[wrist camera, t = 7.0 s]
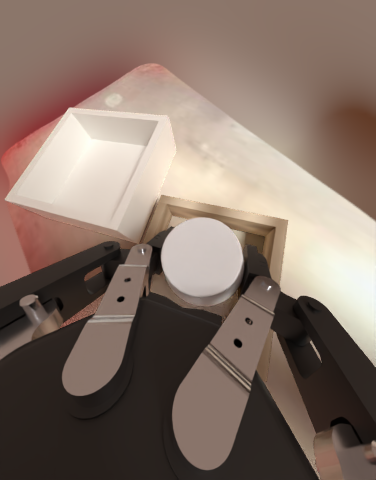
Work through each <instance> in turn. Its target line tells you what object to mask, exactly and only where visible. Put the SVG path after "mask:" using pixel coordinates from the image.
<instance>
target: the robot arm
mask: <svg viewBox="0 0 376 480" xmlns="http://www.w3.org/2000/svg"><path fill="white" fill-rule="evenodd" d="M174 228H175V227H172V226H171V227H170V228H169V229H168V230H167V231H165V230H164V231H161V232H159V233H158V234H157V235H156V236H154V238H152V239H151V240H150V241H149V242H147V243H146V244H137V245H135V246H133V247H132V248H131V249H120V244H119V243H118V242H114V241H109V242H104V243H101V244H99V245H97V246H94V247H92V248H90V249H87V250H85V251H83V252H80V253H78V254H76V255H73V256H71V257H69V258H66V259H64V260H62V261H59V262H57V263H55V264H52V265H50V266H48V267H45V268H43V269H41V270H39V271H36V272H34V273H32V274H29V275H27V276H25V277H22V278H20V279H18V280H15V281H13V282H11V283H8V284H6V285H4V286H1V287H0V480H319V478H318V476H317V474H316V473H315V471H314V469H313V468H312V466H311V464H310V462H309V461H308V459H307V457H306V455H305V454H304V452H303V450H302V448H301V447H300V445H299V443H298V441H297V440H296V438H295V436H294V434H293V433H292V431H291V429H290V427H289V426H288V424H287V422H286V420H285V419H284V417H283V415H282V414H281V412H280V410H279V408H278V407H277V405H276V403H275V401H274V400H273V398H272V396H271V394H270V393H269V391H268V389H267V387H266V386H265V384H264V382H263V380H262V379H261V377H260V375H259V373H258V372H257V370H256V368H257V365H258V362H259V359H260V356H261V353H262V350H263V347H264V344H265V341H266V338H267V335H268V332H269V329H272V330H273V331H275V332H276V334H277V337H278V339H279V342H280V344H281V347H282V349H283V352H284V354H285V357H286V359H287V362H288V364H289V367H290V369H291V372H292V374H293V377H294V379H295V382H296V384H297V386H298V389H299V391H300V394H301V396H302V399H303V401H304V404H305V406H306V409H307V411H308V414H309V416H310V419H311V421H312V424H313V426H314V429H315V431H316V436H315V438H314V452H315V457H316V461H315V462H316V468H317V471H318V473H319V475H320V480H376V367H375V366H374V365H373V364H372V362H371V361H370V360H369V359H368V358H367V356H366V355H365V354H364V353H363V351H362V350H361V349H360V348H359V347H358V345H357V344H356V343H355V342H354V340H353V339H352V338H351V337H350V335H349V334H348V333H347V332H346V331H345V329H344V328H343V327H342V326H341V324H340V323H339V322H338V321H337V320H336V318H335V317H334V316H333V315H332V313H331V312H330V311H329V310H328V309H327V307H325V306H324V305H323V304H322V303H320V302H319V301H317V300H316V299H314V298H311V297H308V296H300V297H299V298H298V299H297V300H296V299H294V298H292V297H290V296H288V295H286V294H284V293H282V292H281V288H280V286H279V285H278V283H276V282H275V281H274V280H273V279H272V278H271V275H270V271H269V268H268V264H267V260H266V258H265V257H264V256H263V255H262V254H259V253H258V252H257V247H256V246H252V245H248V244H246V245H245V248H244V250H243V253H242V254H243V259H244V275H243V279H242V282H241V284H240V286H239V287H238V302H237V303H236V305H235V306H234V308H233V309H232V311H231V312H230V314H229V315H228V317H227V318H226V320H225V321H224V323H223V324H222V323H221V322H222V316H219V315H216V314H213V313H210V312H207V311H204V310H198V309H188V308H182V307H180V306H179V305H177V304H176V303H174V302H173V301H171V300H170V299H168V298H166V297H164V296H161V295H158V294H155V293H152V292H151V286H152V280H153V275H154V273H156V274H161V272H162V271H163V268H162V264H161V251H162V247H163V244H164V241H165V239H166V237H167V236H168V234H169V233H170V232H171V231H172V230H173V229H174ZM99 266H101V268H102V272H101V273H99V274H97V275H95V276H94V277H92V278H90V279H89V280H87V281H84V277H85V275H86V274H87V273H88V272H90V271H92V270H94V269H95V268H97V267H99ZM105 292H106V293H105ZM104 293H105V295H104V297H103V299H102V301H101V303H100V305H99V307H98V309H97V311H96V313H95V314H92V315H90V316H88V317H85V318H83V319H81V320H78V321H76V322H74V323H71V324H69V325H67V326H65V327H62V328H60V326H61V325H62V324H63V323H64V322H65V321H67V320H68V319H70V318H71V317H72V316H74V315H75V314H76V313H78V312H79V311H81V310H82V309H83V308H85V307H86V306H87V305H89V304H90V303H92V302H93V301H94V300H96V299H97V298H98V297H100V296H101V295H103V294H104ZM59 328H60V329H59ZM311 340H312V342H313V344H314V345H315V347H316V349H317V351H318V352H319V354H320V357H321V361H322V363H321V361H320V359H319V358H318V356H317V354H316V352H315V351H314V349H313V347H312V345H311V344H310V341H311Z"/></svg>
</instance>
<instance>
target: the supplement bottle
mask: <svg viewBox="0 0 376 480" xmlns="http://www.w3.org/2000/svg"><path fill="white" fill-rule="evenodd" d="M161 264H162V268H163V271H164V274H165V278H166V281H167V283H168V285H169V287H170V288H171V290H172V291H173V292H174V293H175V294H176V295H177V296H178V297H179V298H181V299H182V300H184V301H185V302H187V303H190V304H193V305H197V306H213V305H217V304H219V303H222V302H224V301H225V300H227V299H228V298H230V297H231V296H232V295H233V294H234V293H235V292H236V291H237V289H238V287H239V286H240V284H241V282H242V279H243V275H244V259H243V254H242V248H241V245H240V242H239V240H238V238H237V236H236V235H235V234H234V232H233V231H232V230H231V229H230V228H229V227H228V226H226V225H225V224H223V223H222V222H220V221H218V220H215V219H212V218H205V217H198V218H192V219H189V220H186V221H184V222H182V223H180V224H179V225H177V226H176V227H175V228H174V229H173V230H172V231H171V232H170V233H169V234H168V236H167V237H166V239H165V241H164V244H163V247H162V251H161Z"/></svg>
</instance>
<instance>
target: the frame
mask: <svg viewBox="0 0 376 480" xmlns="http://www.w3.org/2000/svg"><path fill="white" fill-rule="evenodd" d="M172 215H173V216H177V217H182V218H186V219H192V218H198V217H205V218H212V219H215V220H218V221H220V222H222V223H223V224H225V225H226V226H228V227H229V228H230V229H235V230H239V231H243V232H248V233H252V234H257V235H261V236H265V240H264V245H263V251H262V255H263V256H264V257H265V258H266V260H267V264H268V268H269V271H270V275H271V278H272V279H273V280H274V281H275V282H276V283H278V285H280V278H281V270H282V263H283V255H284V248H285V240H286V233H287V225H288V220H285V219H280V218H275V217H270V216H265V215H260V214H255V213H250V212H245V211H240V210H235V209H230V208H225V207H220V206H215V205H210V204H205V203H200V202H195V201H190V200H185V199H180V198H175V197H170V196H165V195H161V197H160V200H159V202H158V205H157V207H156V210H155V212H154V215H153V217H152V220H151V222H150V225H149V227H148V230H147V232H146V235H145V237H144V240H143V243H142V244H146V243H147V242H149V241H150V240H151V239H152V238H154V236H156V235H157V234H158V233H159V232H161V231H164V230H165V231H167V228H168V225H169V223H170V220H171V217H172ZM272 338H273V330H272V329H269V332H268V335H267V338H266V341H265V344H264V347H263V350H262V353H261V356H260V359H259V362H258V365H257V368H256V370H257V372H258V373H259V375H260V377H261V379H262V380H263V381H265V382H267V375H268V367H269V360H270V352H271V345H272Z"/></svg>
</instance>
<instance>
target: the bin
mask: <svg viewBox="0 0 376 480" xmlns="http://www.w3.org/2000/svg"><path fill="white" fill-rule="evenodd" d="M175 153H176V146H175V141H174V137H173V133H172V128H171V124H170V119H169V116H164V115H152V114H140V113H128V112H115V111H103V110H91V109H79V108H69V109H68V110H67V111H66V113H65V114H64V116H63V117H62V119H61V120H60V121H59V123H58V124H57V126H56V127H55V129H54V130H53V131H52V133H51V134H50V136H49V137H48V138H47V140H46V141H45V143H44V144H43V146H42V147H41V148H40V150H39V151H38V153H37V154H36V155H35V157H34V158H33V160H32V161H31V163H30V164H29V165H28V167H27V168H26V170H25V171H24V172H23V174H22V175H21V177H20V178H19V180H18V181H17V182H16V184H15V185H14V187H13V188H12V190H11V191H10V192H9V194H8V195H7V197H6V198H5V201H8V202H10V203H12V204H15V205H17V206H19V207H22V208H24V209H26V210H29V211H31V212H34V213H36V214H38V215H41V216H43V217H45V218H48V219H52V220H55V221H59V222H62V223H66V224H69V225H73V226H77V227H80V228H84V229H87V230H91V231H94V232H98V233H101V234H105V235H109V236H112V237H116V238H119V239H123V240H126V241H130V242H133V243H137V244H139V243H140V240H141V238H142V235H143V233H144V230H145V228H146V225H147V223H148V220H149V218H150V215H151V213H152V210H153V208H154V205H155V203H156V200H157V198H158V195H159V193H160V190H161V188H162V185H163V183H164V180H165V178H166V175H167V173H168V170H169V168H170V165H171V163H172V160H173V158H174V155H175Z"/></svg>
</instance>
